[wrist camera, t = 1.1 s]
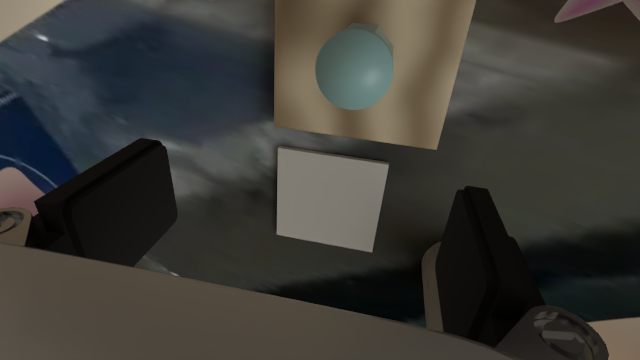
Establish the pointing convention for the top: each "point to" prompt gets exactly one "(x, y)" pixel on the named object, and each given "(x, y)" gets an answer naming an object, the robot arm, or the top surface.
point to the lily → (592, 8)
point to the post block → (408, 60)
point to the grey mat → (329, 197)
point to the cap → (355, 66)
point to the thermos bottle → (431, 289)
